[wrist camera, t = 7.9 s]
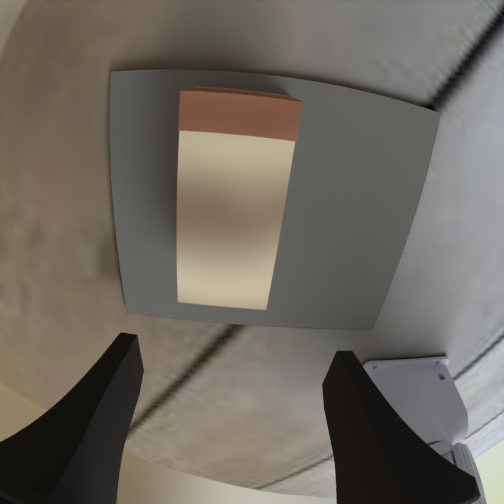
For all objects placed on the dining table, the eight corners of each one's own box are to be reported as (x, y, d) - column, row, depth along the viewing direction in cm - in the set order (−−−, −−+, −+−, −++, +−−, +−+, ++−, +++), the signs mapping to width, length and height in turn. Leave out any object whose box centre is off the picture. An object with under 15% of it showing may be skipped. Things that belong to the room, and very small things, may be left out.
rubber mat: (436, 111, 15) (440, 113, 15) (369, 325, 23) (371, 329, 23) (114, 71, 14) (110, 71, 14) (128, 308, 22) (127, 313, 22)
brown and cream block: (264, 265, 20) (267, 310, 16) (188, 258, 20) (176, 302, 16) (289, 95, 15) (302, 102, 11) (197, 86, 14) (180, 90, 11)
